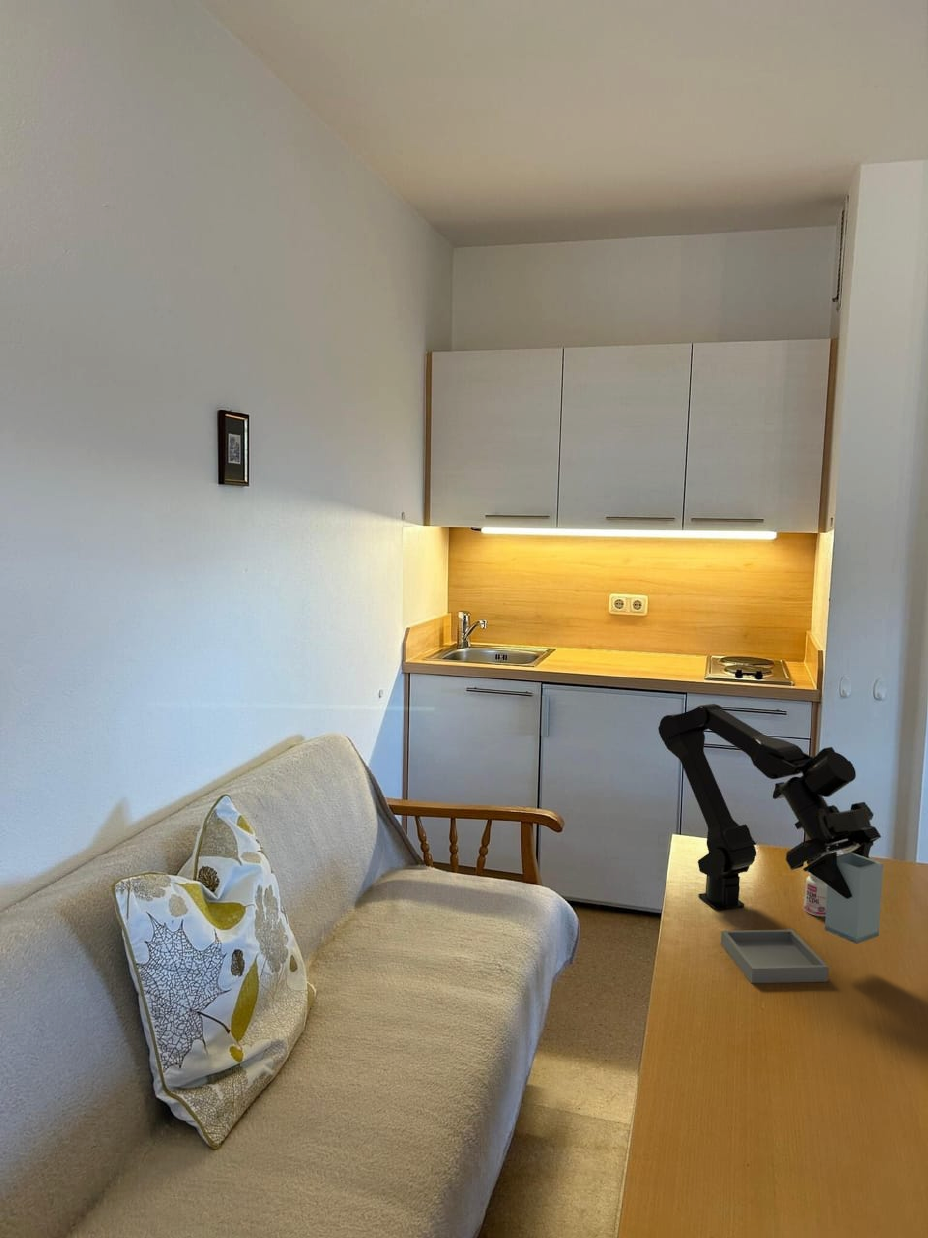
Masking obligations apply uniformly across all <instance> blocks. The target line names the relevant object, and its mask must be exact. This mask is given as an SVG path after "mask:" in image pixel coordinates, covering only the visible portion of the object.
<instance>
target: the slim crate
mask: <svg viewBox="0 0 928 1238" xmlns="http://www.w3.org/2000/svg"><path fill="white" fill-rule="evenodd" d="M837 866H838V868H839V870H840V872H841V874H842V876H843V878H844V880H845V882H846V883H847V885H848V887H849V890H850V892H851V894H852V897H850V898H849V899H846V898H845V897H843V896H842V895H841V894H839V893H838V892H837V891H835V890H834V889H833V888H831V887H830V886H829V885H827V899H826V916H825V922H824V931H826V932H828V933H830V934H832V935H836V936H838V937H840V938H842V939H845V940H846V941H849V942H852V943H853V944H856V945H857V944H861V943H863V942H865V941H869V940H871V939H874V938H876V937H879V936H880V924H881V923H880V922H881V921H880V919H881V906H882V905H881V903H882V891H883V890H882V889H883V888H882V887H883V886H882V885H883V873H884V872H883V870H884V863H883V862H880V861H877V860H875V859H872V858H870V857H869V858H866V857H863V856H860V855H858V854H855V853H852V852H850V853H846V854H844V853H843V854H839V855H837Z"/></svg>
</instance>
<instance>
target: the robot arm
mask: <svg viewBox="0 0 928 1238" xmlns="http://www.w3.org/2000/svg"><path fill="white" fill-rule="evenodd" d="M707 730H709V731H711V733H714V735H715V734H716V735H717V736H718V737H720V738H721V739H723V740H725V741H726V742H727V743H729V744H731V745H732V746H734V747H735V748H737V749H739V750H740V751H742V752H744V753H745V754H746V755H747V756H748V757H749V758H750V760H751V762H752V765H753V766H754V767H755V768H756V769H757V770H759V772H760V773H761V774H763V775H764V776H765V777H766V778H768V779H771V780H778V779H784V778H788V777H791V778H789V779H788V780H787V781H785V782H784V781H781V782H776V783H775V784H774V790H773V793H772V798H773V800H777V799H781V798H784V799H785V800H786V803H787V804H788V805H789V807H790V809H791V811H792V812H793V814H794V816H795V817H796V819H797V822H796V823H794V826H795V828H796V830H801V829H802V830H803V831H804V833H805V834H806V837H807V838H808V839H807V840H803V841H802V842H800V843H799V844H798V845H796V846H795V847H793V848H791V849H790V850H788V851H787V852H786V853H785V861H786V863H787V865H788V866H789V868H790V870H791V871H794V870H797V869H800V868H802V870H803V871H804V872H805V873H806V872H808V874H809V873H811V874H812V875H814V876H816V877H817V878H819V879H820V880H822V881H823V882H824V883H826V884H827V885H829V886H830V887H831V888H833V889H834V890H835V891H837V892H838V893H839V894H841V895H842V896H843V897H845V898H846V899H849V898H850V897H852V894H851V892H850V890H849V887H848V885H847V883H846V882H845V880H844V878H843V876H842V874H841V872H840V870H839V868H838V866H837V856H838V852H837V851H842V853H843V854H846V853H850V852H852V853H855V854H858V855H860V856H863V857H866V858H869V859H870V856H869V855H870V852H871V848H872V847H873V846H874V842H876V841H877V840H879V839H880V838H882V836H881V833H880V832H879V831H878V829H877V827H875V826H873V825H872V824H871V821H872V819H873V818H874V812H873V811H872V810H871V808H870V807H869V806H868V804H867V803H866V802H865V801H860V802H855V803H852V804H851V806H850V809H848V810H844V811H840V810H839V809H838V807H837V806H835V805H834V804H833V805H828V803H827V801H826V800H825V798H824V797H826V798H829V797H831V796H833V795H834V794H835V793H837V792H839V791H840V790H842V789H843V788H844V787H846V786H847V785H848V784H850V783H852V782H853V781H854V780H855V779H856V776H857V774H856V773H857V772H856V769H855V767H854V765H853V763H852V762H851V761H850V760H848V759H847V758H846V757H845V756H844V755H842V754H840V753H839V752H836V751H835V750H834V747H832V746H829V747H824V748H822V749H821V750H820V751H819V752H818V753H817V754H816V755H815V756H812V755H810V754H808V753H806V752H804V751H803V749H802V748H801V747H800V746H798V745H797V744H794V743H792V742H789V741H787V740H784V739H781V738H777V737H772V736H768V735H765V734H763V733H761V732H760V731H759V730H757V729H756V728H754V727H752V726H751V725H749V724H747V723H745V722H744V721H742V720H741V719H739V718H737V717H736V716H734V715H732V714H731V713H730V712H728V711H726V710H724V709H723V708H722V706H721V705H719V704H717V703H710V704H703V705H699V706H697V707H695V708H693V709H690V710H687V711H685V712H681V713H675V714H674V713H673V714H667V715H664V716H663V717H662V718H661V720H660V722H659V726H658V734H659V737H660V738H661V740H662V741H663V743H664V745H665V747H666V748H667V750H668V751H670V753H672V755H674V756H675V757H676V758H677V759H679V761H680V764H681V765H682V768H683V771H684V773H685V774H686V778H687V780H688V782H689V785H690V788H691V789H692V792H693V794H694V798H695V800H696V802H697V804H698V807H699V809H700V811H701V814H702V817H703V818H704V821H705V824H706V826H707V835H706V847H707V850H708V853H706V854H705V855H703V856H702V857H701V858H699V859H698V860H697V865H698V870H699V872H700V873H702V874H705V875H706V881H705V892H702V893H698V898H699V899H701V900H702V901H704V902H705V903H706V904H708V905H709V906H710V907H711V908H713V909H714V910H716V911H722V910H728V909H730V910H731V909H736V908H738V909H739V908H745V903H744V902H743V901H742V900H740V890H741V886H740V881H741V880H740V879H741V877H740V875H739V874H742V873H747V872H748V871H749V869H750V866H751V865H753V864H754V862H755V860H756V856H757V850H756V847H755V846H756V845H757V843H756V841H755V840H754V838H753V837H752V834H751V831H750V828H749V826H748V825H747V824H742V825H739V824H738V823H737V821H735V820H734V819H733V817H732V816H731V813H730V811H729V808H728V806H727V804H726V801H725V799H724V796H723V794H722V792H721V789H720V786H719V785H718V783H717V780H716V777H715V776H714V773H713V770H712V767H711V765H710V763H709V761H708V759H707V757H706V756H707V755H705V751H704V749H705V741H706V735H705V731H707ZM799 774H802V775H801V776H796V775H799ZM805 863H806V864H807V866H805V867H804V865H805ZM803 867H804V868H803Z"/></svg>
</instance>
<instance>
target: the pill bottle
mask: <svg viewBox="0 0 928 1238" xmlns="http://www.w3.org/2000/svg"><path fill="white" fill-rule="evenodd" d="M804 888H805V890H804V899H803V900H804V901H803V910H804V911H805V913H807V914H808V915H812V916H814V917H815V916H816V917H820V916H821V917H823V918H824V917H826V899H827V884H826V883H824V882H823V881H822V880H820V879H819V878H817V877H816V876H814V875H812V874H811V873H809V872H808V876H807V877H806V880H805V887H804Z"/></svg>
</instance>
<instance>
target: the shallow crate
mask: <svg viewBox="0 0 928 1238" xmlns="http://www.w3.org/2000/svg"><path fill="white" fill-rule="evenodd" d="M720 933H721V934H720V945H721V947H722V948H723V949H724V950H725V951H726V953H727V954H728V955H729V957H730V958H731V960H733V962H734V963H735V964H736V966H737V967H738V968H739V969H740V971H741V972H742V974H743V975H744V976H745V977H746V978H747V980H749V982H750V983H751V984H777V983H815V982H816V983H818V982H821V983H822V982H829V973H830V970H829V969H830V967H829V965H828V964H827V963H826V962H825V961H823V959H822V958H821V957H820V956H819V955H818V954H817V953H816V952H815V951H814V950H813V949H812V948H811V947H810V946H809V945H808V944H807V942H805V941H804V940H803V939H802V938H801V937H800V936H799V935H798V934H797V933H796V932H795V931H794V930H793V929H755V930H753V929H751V930H750V929H748V930H747V929H746V930H744V929H743V930H742V929H741V930H721V932H720Z"/></svg>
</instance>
